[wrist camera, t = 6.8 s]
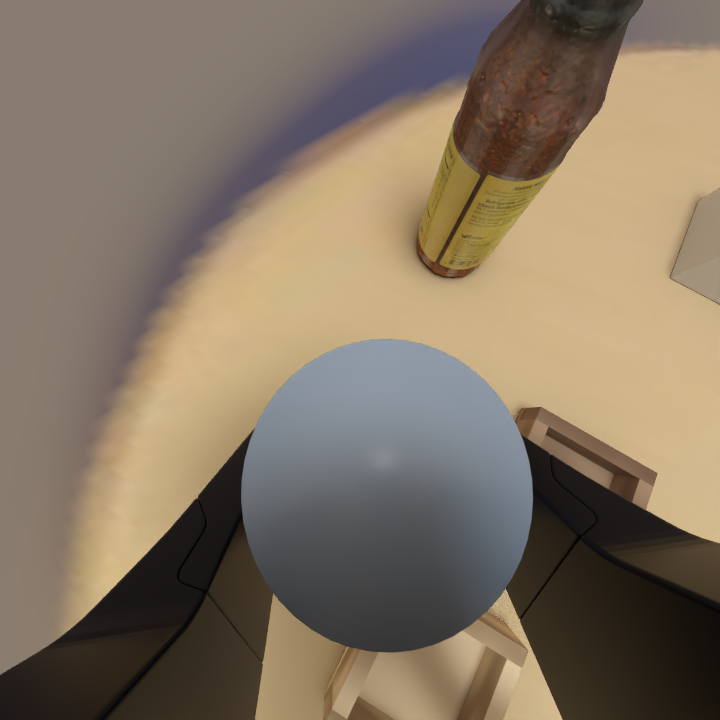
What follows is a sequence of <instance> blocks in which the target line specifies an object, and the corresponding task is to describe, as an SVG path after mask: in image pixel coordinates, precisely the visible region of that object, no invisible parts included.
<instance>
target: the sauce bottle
mask: <svg viewBox="0 0 720 720" xmlns="http://www.w3.org/2000/svg"><path fill="white" fill-rule="evenodd" d="M642 3H643V0H521V1H520V2H519V3H518V4H517V6H515V8H514V9H513V10H512V11H511V12H510V13H509V14H508V15H507V16H506V17H505V18H504V20H502V22H500V24H499V25H498V26H497V27H496V28H495V29H494V30H493V31H492V32H491V34H490V35H489V37H488V39H487V40H486V42H485V43H484V45H483V47H482V49H481V52H480V54H479V57H478V59H477V62H476V65H475V67H474V70H473V72H472V74H471V77H470V79H469V81H468V83H467V90H466V93H465V96H464V99H463V102H462V105H461V108H460V111H459V112H458V114H457V116H456V118H455V120H454V123H453V126H452V129H451V132H450V135H449V138H448V141H447V145H446V148H445V151H444V154H443V157H442V160H441V163H440V166H439V169H438V172H437V175H436V179H435V182H434V185H433V188H432V191H431V194H430V196H429V199H428V202H427V205H426V208H425V211H424V214H423V217H422V220H421V223H420V226H419V237H418V247H417V248H418V253H419V255H420V257H421V258H422V260H423V262H424V263H425V264H426V265H427V266H428V267H429V268H431V270H432V271H434V272H435V273H437V274H439V275H442V276H447V277H459V276H465V275H467V274H469V273H470V272H472V271H473V270H475V269H476V268H477V267H478V266H479V265H480V264H481V263H482V262H484V261H485V260H486V259H487V257H488V256H489V255H490V254H491V253H492V251H493V250H494V249H495V247H496V246H497V245H498V244H499V242H500V241H501V240H502V238H503V237H504V236H505V235H506V233H507V232H508V231H509V230H510V228H511V227H512V226H513V225H514V223H515V222H516V221H517V219H518V218H519V217H520V216H521V214H522V213H523V212H524V210H525V209H526V208H527V207H528V205H529V204H530V203H531V201H532V200H533V199H534V198H535V196H536V195H537V194H538V192H539V191H540V190H541V189H542V187H543V186H544V185H545V183H546V182H547V181H548V179H549V178H550V177H551V176H552V174H553V173H554V172H555V170H556V169H557V168H558V167H559V165H560V164H561V162H562V161H563V160H564V158H565V156H566V153H567V152H568V150H569V149H570V148H571V146H572V145H573V144H574V142H575V140H576V139H577V138H578V137H579V135H580V134H581V133H582V132H583V131H584V129H585V128H586V127H587V125H588V124H589V123H590V121H591V120H592V119H593V117H594V116H595V115H596V114H597V113H598V112H599V110H600V109H601V107H602V104H603V102H604V100H605V96H606V91H607V87H608V84H609V81H610V77H611V74H612V71H613V68H614V65H615V62H616V59H617V56H618V53H619V50H620V47H621V44H622V41H623V38H624V35H625V32H626V29H627V26H628V23H629V21H630V19H631V18H632V17H633V16H634V14H635V13H636V12H637V11H638V9H639V8H640V6H641V5H642Z"/></svg>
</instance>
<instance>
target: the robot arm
mask: <svg viewBox="0 0 720 720" xmlns="http://www.w3.org/2000/svg"><path fill="white" fill-rule="evenodd" d="M254 430H255V428H254V429H253V431H252V432H251V433H250V434H249V435H248V437H247V438H246V439H245V440H244V441H243V443H242V444H241V445H240V446H239V447H238V449H237V450H236V451H235V452H234V453H233V455H232V456H231V457H230V458H229V459H228V461H227V462H226V463H225V464H224V465H223V467H222V468H221V469H220V470H219V471H218V473H217V474H216V475H215V476H214V477H213V479H212V480H211V481H210V482H209V483H208V485H207V486H206V487H205V488H204V489H203V491H202V492H201V493H200V494H199V495H198V499H195V500H194V501H193V502H192V504H191V505H190V506H189V507H188V508H187V510H186V511H185V512H184V513H183V514H182V515H181V517H180V518H179V519H178V520H177V521H176V522H175V523H174V525H173V526H172V527H171V528H170V529H169V530H168V531H167V533H166V534H165V535H164V536H163V537H162V538H161V539H160V540H159V541H158V542H157V543H156V544H155V545H154V546H153V547H152V548H151V550H150V551H149V552H148V553H147V554H146V555H145V556H144V557H143V558H142V559H141V560H140V561H139V562H138V563H137V564H136V565H135V566H134V567H133V568H132V569H131V570H130V571H129V572H128V573H127V574H126V575H125V576H124V577H123V578H122V579H121V580H120V581H119V582H118V583H117V584H116V586H115V587H114V588H113V589H112V590H111V591H110V592H109V593H108V594H107V595H106V596H105V597H104V598H103V599H102V600H101V601H100V602H99V603H98V604H97V605H96V606H95V607H94V608H93V609H92V610H91V611H90V612H89V613H88V614H87V615H86V616H85V617H84V618H83V619H82V620H80V621H79V622H78V623H77V624H76V625H75V626H74V627H72V628H71V629H70V630H69V631H67V632H66V633H65V634H64V635H62V636H61V637H60V638H58V639H57V640H56V641H54V642H53V643H51V644H50V645H49V646H47V647H45V648H44V649H42V650H41V651H39V652H37V653H36V654H34V655H32V656H31V657H29V658H27V659H26V660H24V661H22V662H21V663H19V664H17V665H16V666H14V667H12V668H11V669H9V670H7V671H6V672H4V673H2V674H1V675H0V720H255V715H256V708H257V701H258V694H259V687H260V680H261V673H262V666H263V664H262V662H263V659H264V652H265V645H266V638H267V631H268V624H269V617H270V610H271V604H272V597H273V591H272V590H271V589H270V587H269V586H268V584H267V583H266V581H265V579H264V578H263V576H262V574H261V572H260V570H259V568H258V566H257V565H256V562H255V560H254V557H253V554H252V552H251V549H250V546H249V544H248V540H247V535H246V531H245V527H244V523H243V513H242V504H241V489H242V475H243V468H244V461H245V457H246V453H247V450H248V446H249V443H250V439H251V437H252V434H253V432H254ZM521 437H522V439H523V442H524V445H525V449H526V452H527V455H528V459H529V464H530V470H531V476H532V489H533V506H532V520H531V525H530V530H529V535H528V540H527V543H526V546H525V549H524V552H523V555H522V558H521V561H520V563H519V565H518V567H517V569H516V571H515V573H514V575H513V577H512V579H511V581H510V582H509V584H508V585H507V587H506V590H507V592H508V595H509V597H510V599H511V601H512V604H513V606H514V608H515V611H516V613H517V615H518V617H519V619H521V620H520V623H521V625H522V627H523V629H524V632H525V634H526V636H527V639H528V641H529V643H530V645H531V648H532V650H533V652H534V655H535V657H536V659H537V662H538V664H539V666H540V668H541V671H542V673H543V675H544V678H545V680H546V682H547V685H548V687H549V689H550V691H551V694H552V696H553V698H554V701H555V703H556V705H557V708H558V710H559V712H560V714H561V717H562V719H563V720H720V543H716V542H713V541H710V540H707V539H703V538H701V537H698V536H695V535H693V534H690V533H688V532H686V531H684V530H682V529H679V528H677V527H676V526H674V525H672V524H670V523H668V522H666V521H664V520H663V519H661V518H659V517H657V516H656V515H654V514H652V513H650V512H648V511H647V510H645V509H643V508H641V507H640V506H638V505H636V504H634V503H632V502H631V501H629V500H627V499H625V498H624V497H622V496H620V495H618V494H616V493H615V492H613V491H611V490H609V489H608V488H606V487H604V486H603V485H601V484H599V483H597V482H596V481H594V480H592V479H591V478H589V477H587V476H585V475H584V474H582V473H581V472H579V471H577V470H576V469H574V468H573V467H571V466H569V465H568V464H566V463H565V462H563V461H562V460H560V459H559V458H557V457H555V456H554V455H552V454H551V455H550V453H549V452H548V451H546V450H545V449H543V448H541V447H540V446H538V445H537V444H535V443H534V442H532V441H531V440H529V439H528V438H526V437H525V436H523V435H522V434H521Z"/></svg>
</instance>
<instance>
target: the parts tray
mask: <svg viewBox="0 0 720 720" xmlns="http://www.w3.org/2000/svg"><path fill="white" fill-rule="evenodd" d="M670 278H671V279H673V280H675V281H677V282H679V283H681V284H682V285H684V286H686V287H688V288H690V289H692V290H694V291H696V292H698V293H700V294H701V295H703V296H705V297H707V298H709V299H711V300H713V301H715V302H717V303H719V304H720V188H719V189H717V190H716V191H714V192H712V193H711V194H709V195H708V196H706V197H704V198H703V199H701V200H700V201H698V203H697V206H696V209H695V211H694V214H693V217H692V220H691V222H690V225H689V228H688V231H687V233H686V236H685V239H684V241H683V244H682V247H681V250H680V252H679V255H678V258H677V261H676V263H675V266H674V269H673V271H672V274H671V277H670Z"/></svg>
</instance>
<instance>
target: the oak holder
mask: <svg viewBox="0 0 720 720" xmlns="http://www.w3.org/2000/svg"><path fill="white" fill-rule="evenodd" d="M527 653H528V650H527V649H526V647H525V646H524V645H523V644H522V642H521V641H520V640H519V639H518V638H517V636H516V635H515V634H514V633H513V631H512V630H511V629H510V628H509V626H508V625H507V624H505V623H504V622H502V621H500V620H499V619H497V618H496V617H494V616H492V615H491V614H489V613H488V612H486V613H484V614H483V615H482V616H481V617H480V618H479V619H477V620H476V621H475V622H474V623H473V624H472V625H470V626H469V627H467V628H466V629H464V630H463V631H461V632H459V633H458V634H456V635H455V636H453V637H451V638H449V639H446V640H444V641H442V642H440V643H437V644H435V645H432V646H428V647H425V648H421V649H417V650H413V651H404V652H395V653H387V652H370V651H365V650H361V649H356V648H351V647H348V646H347V647H346V649H345V651H344V653H343V655H342V657H341V659H340V661H339V663H338V665H337V667H336V670H335V672H334V674H333V676H332V678H331V680H330V682H329V684H328V686H327V688H326V690H325V700H324V715H323V720H503V718H504V715H505V713H506V710H507V707H508V705H509V702H510V699H511V697H512V694H513V691H514V688H515V686H516V683H517V680H518V678H519V675H520V672H521V670H522V667H523V664H524V661H525V659H526V656H527Z"/></svg>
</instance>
